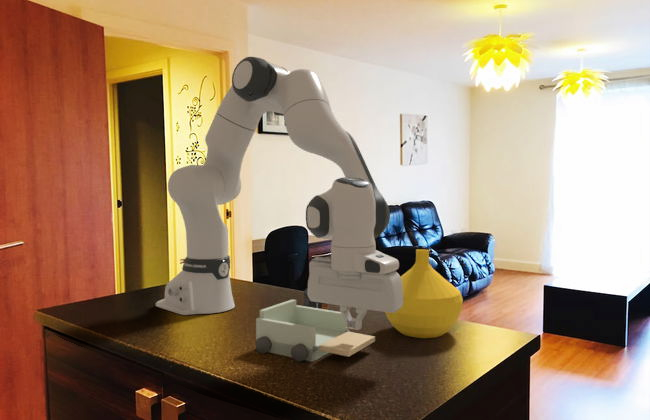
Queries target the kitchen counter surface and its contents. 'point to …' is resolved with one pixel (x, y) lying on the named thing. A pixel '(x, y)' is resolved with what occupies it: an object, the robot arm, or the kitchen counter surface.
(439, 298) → the vase
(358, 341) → the panel
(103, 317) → the kitchen counter surface
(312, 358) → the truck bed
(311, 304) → the pill bottle
